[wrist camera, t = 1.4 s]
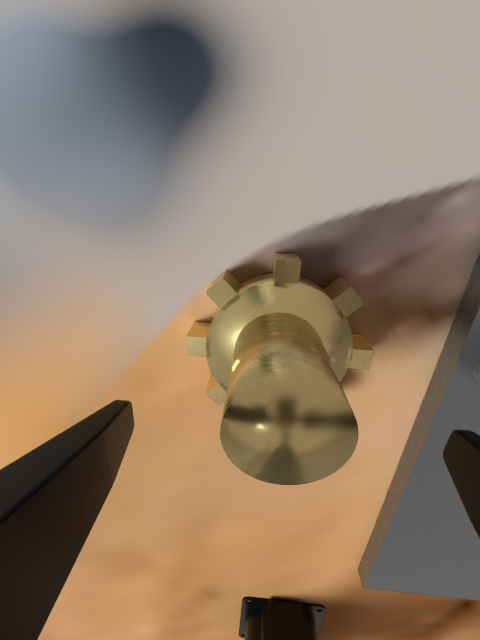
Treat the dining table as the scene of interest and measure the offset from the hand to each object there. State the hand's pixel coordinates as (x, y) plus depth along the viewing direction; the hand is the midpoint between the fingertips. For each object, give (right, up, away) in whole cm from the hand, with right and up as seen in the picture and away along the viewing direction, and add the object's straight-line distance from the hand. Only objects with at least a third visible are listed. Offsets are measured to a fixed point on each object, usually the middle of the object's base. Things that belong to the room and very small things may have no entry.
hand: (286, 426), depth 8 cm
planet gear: (0, +2, +5) cm, 6 cm away
